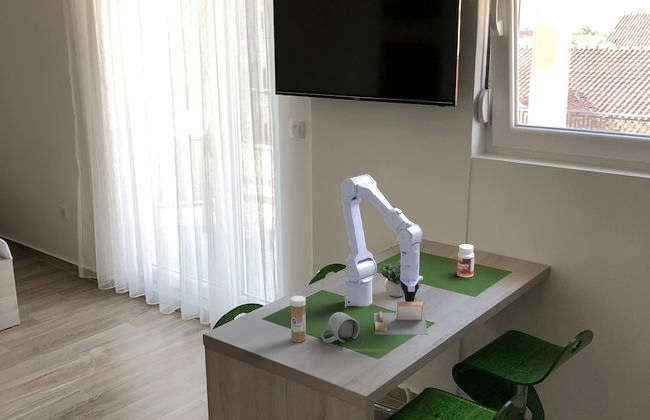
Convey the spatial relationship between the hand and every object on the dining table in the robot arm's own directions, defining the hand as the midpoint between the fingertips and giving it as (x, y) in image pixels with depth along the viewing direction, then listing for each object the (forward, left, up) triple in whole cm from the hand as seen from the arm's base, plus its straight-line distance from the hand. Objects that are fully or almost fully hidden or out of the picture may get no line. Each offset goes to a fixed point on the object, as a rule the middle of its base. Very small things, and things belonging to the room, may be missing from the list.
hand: (409, 304), depth 218 cm
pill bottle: (+24, +42, -6) cm, 49 cm away
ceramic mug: (-22, -12, -6) cm, 26 cm away
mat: (-3, -3, -6) cm, 7 cm away
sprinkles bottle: (-34, -13, -6) cm, 37 cm away
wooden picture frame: (0, 0, -5) cm, 5 cm away
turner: (-9, -2, -6) cm, 11 cm away
